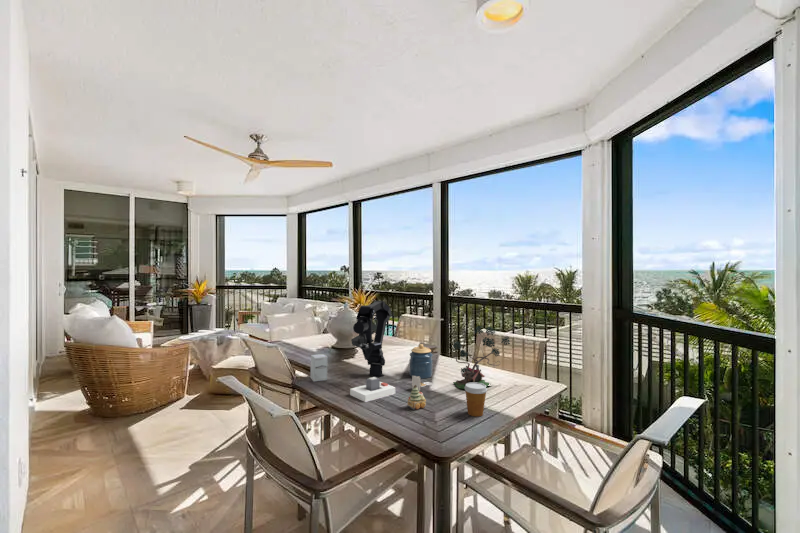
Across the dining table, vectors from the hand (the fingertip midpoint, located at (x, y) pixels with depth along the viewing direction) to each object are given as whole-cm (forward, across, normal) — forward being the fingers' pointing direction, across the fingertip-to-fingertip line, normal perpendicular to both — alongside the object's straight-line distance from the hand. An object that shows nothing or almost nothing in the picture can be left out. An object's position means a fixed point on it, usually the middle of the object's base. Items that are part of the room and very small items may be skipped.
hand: (366, 359), depth 204 cm
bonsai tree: (+13, +43, +42) cm, 62 cm away
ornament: (+12, +41, -4) cm, 43 cm away
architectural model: (+13, +25, +12) cm, 31 cm away
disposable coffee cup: (+12, +62, +10) cm, 64 cm away
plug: (+11, +16, -8) cm, 21 cm away
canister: (+13, +9, +32) cm, 36 cm away
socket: (+12, +16, -8) cm, 21 cm away
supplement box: (+12, -21, -15) cm, 29 cm away
